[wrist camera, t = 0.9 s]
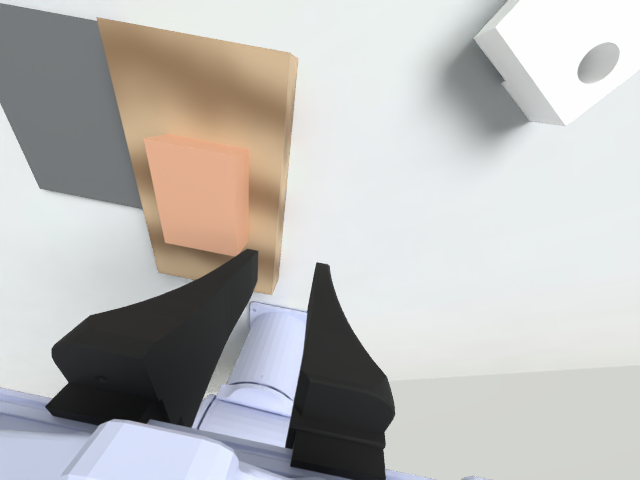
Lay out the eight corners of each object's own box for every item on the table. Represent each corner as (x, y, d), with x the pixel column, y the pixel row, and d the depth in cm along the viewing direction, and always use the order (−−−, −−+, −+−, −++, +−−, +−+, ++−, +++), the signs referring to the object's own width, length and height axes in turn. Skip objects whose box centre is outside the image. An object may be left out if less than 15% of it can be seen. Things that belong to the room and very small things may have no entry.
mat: (161, 209, 24) (158, 211, 24) (45, 186, 24) (39, 188, 24) (124, 27, 17) (118, 25, 16) (-41, -4, 17) (-51, -7, 17)
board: (278, 279, 27) (271, 295, 25) (173, 258, 27) (158, 272, 25) (298, 58, 17) (290, 52, 14) (129, 27, 17) (96, 17, 15)
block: (248, 241, 22) (237, 257, 19) (183, 228, 22) (165, 242, 20) (248, 149, 18) (234, 156, 15) (168, 133, 18) (143, 138, 15)
